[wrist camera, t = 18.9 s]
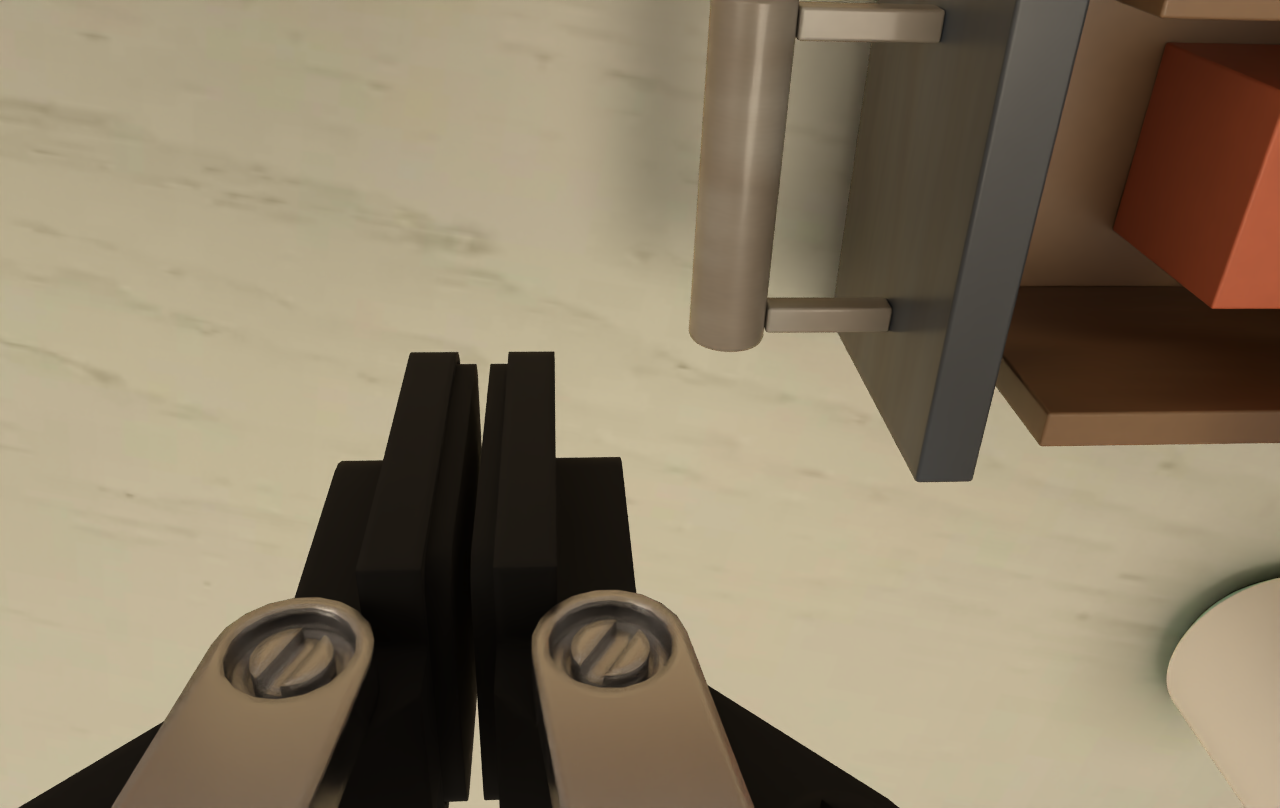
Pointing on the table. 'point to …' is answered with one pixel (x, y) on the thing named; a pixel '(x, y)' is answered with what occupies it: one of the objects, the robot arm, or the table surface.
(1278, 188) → the block
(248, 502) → the table surface
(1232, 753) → the can
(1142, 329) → the drawer
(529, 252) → the table surface
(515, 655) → the robot arm
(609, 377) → the table surface
